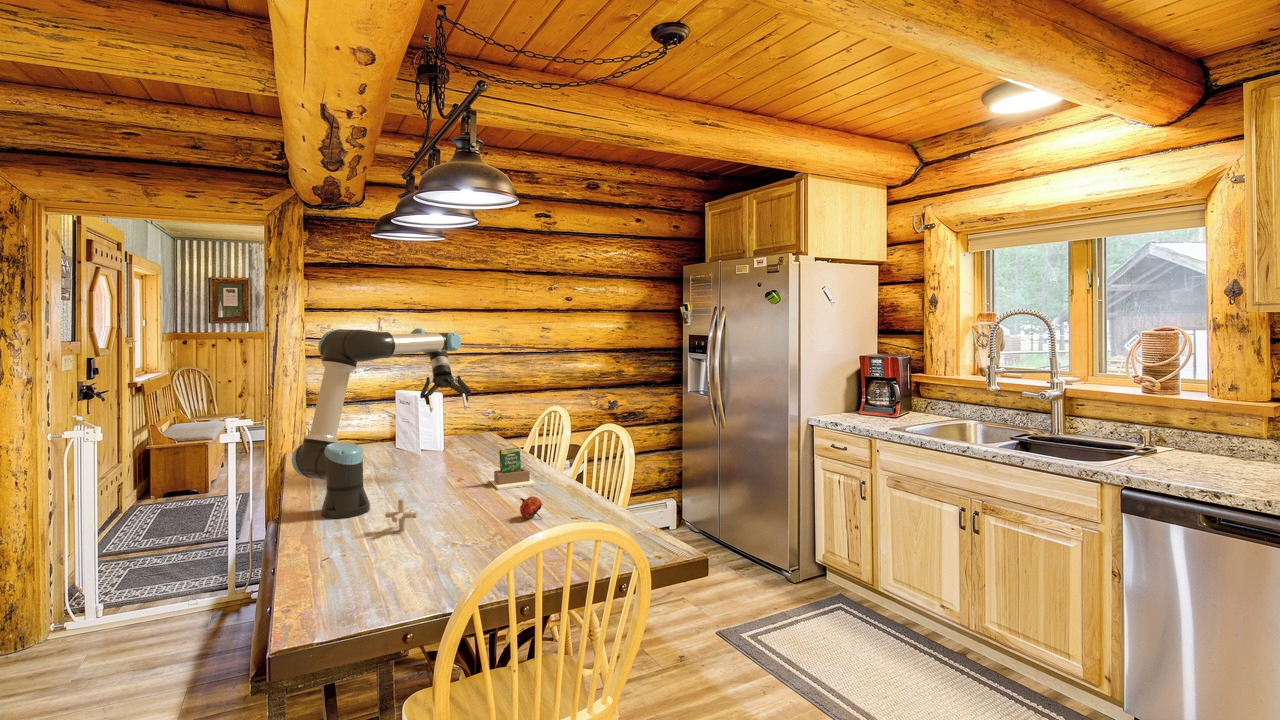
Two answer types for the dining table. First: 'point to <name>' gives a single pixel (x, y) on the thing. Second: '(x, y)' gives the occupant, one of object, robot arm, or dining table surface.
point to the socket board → (512, 479)
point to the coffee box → (510, 460)
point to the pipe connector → (401, 514)
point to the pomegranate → (530, 507)
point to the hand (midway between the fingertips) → (448, 409)
